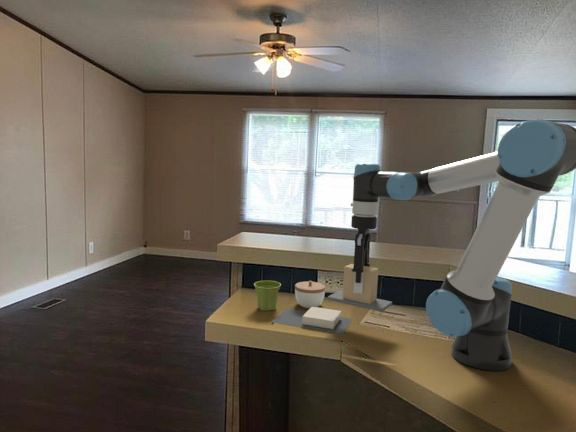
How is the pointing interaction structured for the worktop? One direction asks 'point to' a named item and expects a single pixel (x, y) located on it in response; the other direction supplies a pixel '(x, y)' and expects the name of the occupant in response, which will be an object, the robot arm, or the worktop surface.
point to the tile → (321, 317)
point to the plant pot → (267, 294)
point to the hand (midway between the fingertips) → (360, 289)
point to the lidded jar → (309, 294)
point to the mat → (296, 318)
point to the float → (369, 290)
